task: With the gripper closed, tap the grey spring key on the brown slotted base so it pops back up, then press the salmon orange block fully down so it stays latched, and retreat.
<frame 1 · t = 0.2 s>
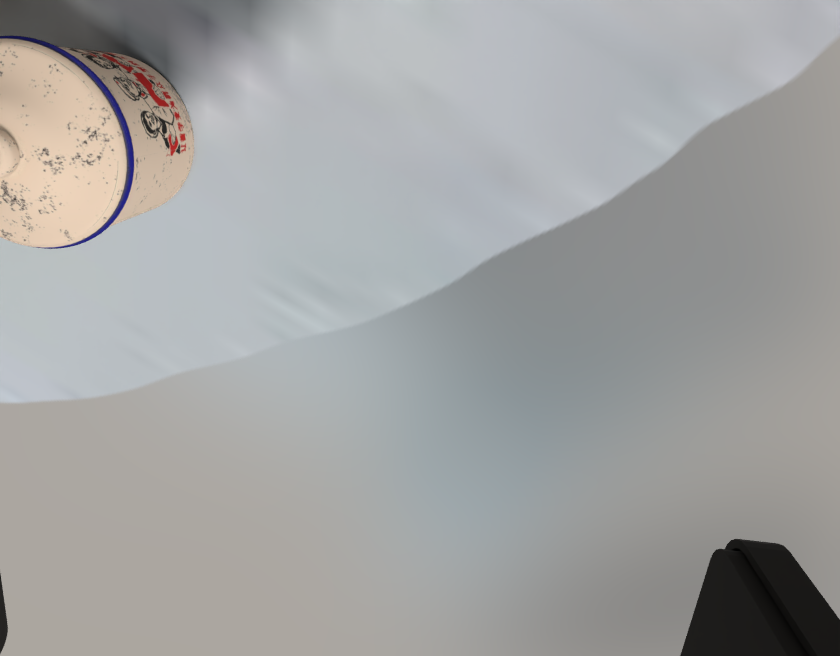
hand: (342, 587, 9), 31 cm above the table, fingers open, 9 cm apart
teacup with lid: (102, 115, 37), on the table
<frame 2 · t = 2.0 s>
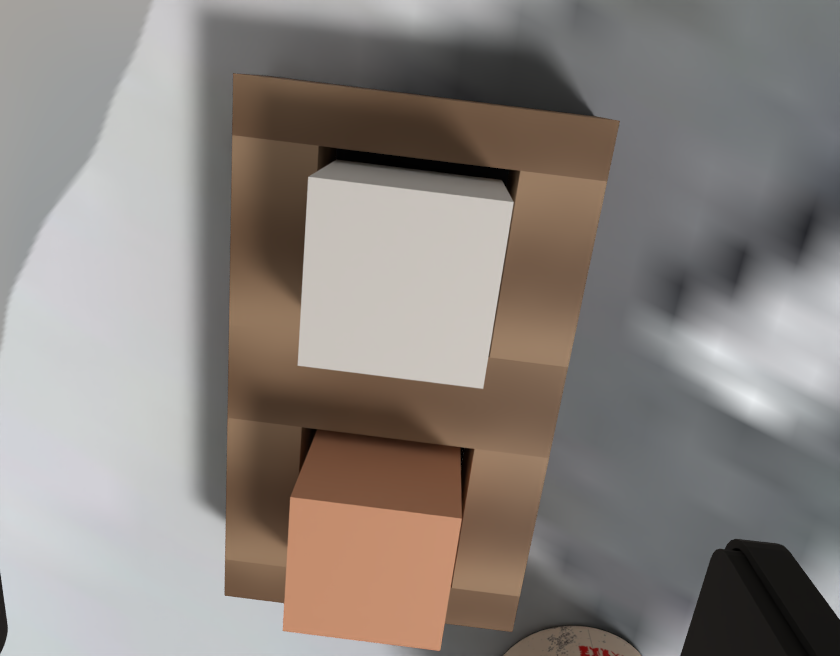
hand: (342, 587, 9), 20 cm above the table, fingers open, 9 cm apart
brown slotted base: (400, 354, 30), on the table
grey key: (405, 267, 22), point 6 cm above the table, slide at 0.0 cm
salmon orange block: (375, 533, 26), point 6 cm above the table, slide at 0.0 cm
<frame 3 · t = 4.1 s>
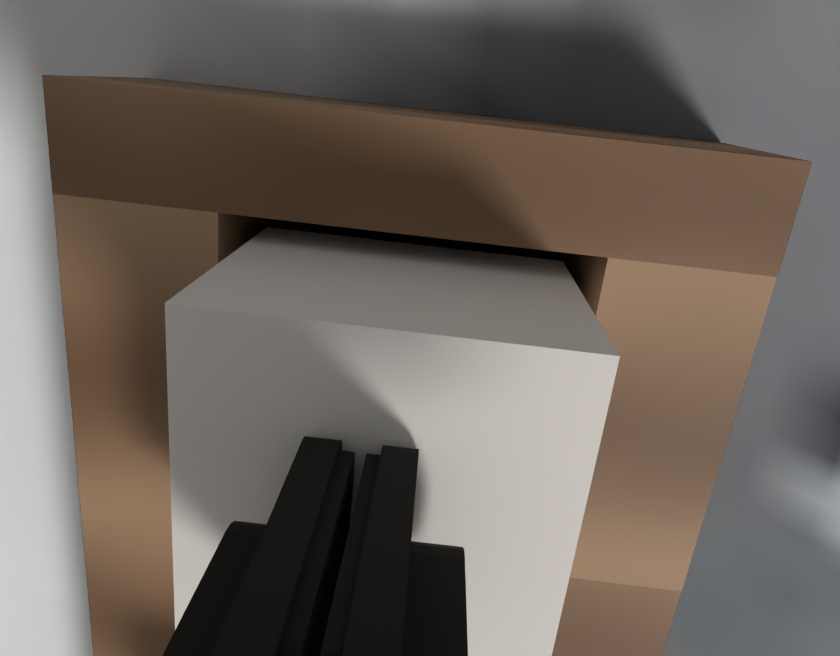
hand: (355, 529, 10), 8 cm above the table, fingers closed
brown slotted base: (389, 517, 19), on the table
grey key: (389, 435, 12), point 5 cm above the table, slide at 0.5 cm, touching gripper
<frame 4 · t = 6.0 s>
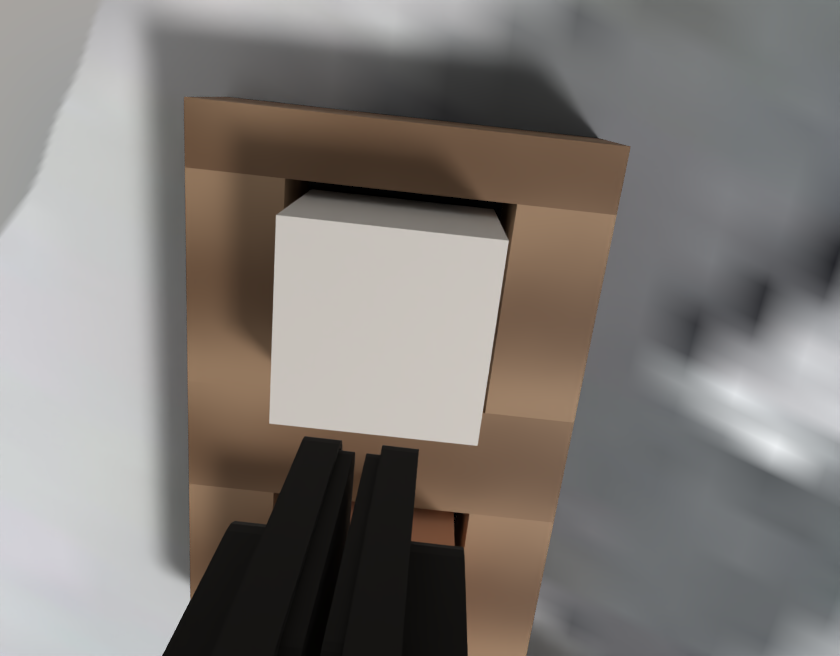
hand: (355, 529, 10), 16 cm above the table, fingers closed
brown slotted base: (385, 403, 27), on the table
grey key: (389, 309, 20), point 5 cm above the table, slide at 0.8 cm
salmon orange block: (359, 612, 23), point 5 cm above the table, slide at 0.0 cm
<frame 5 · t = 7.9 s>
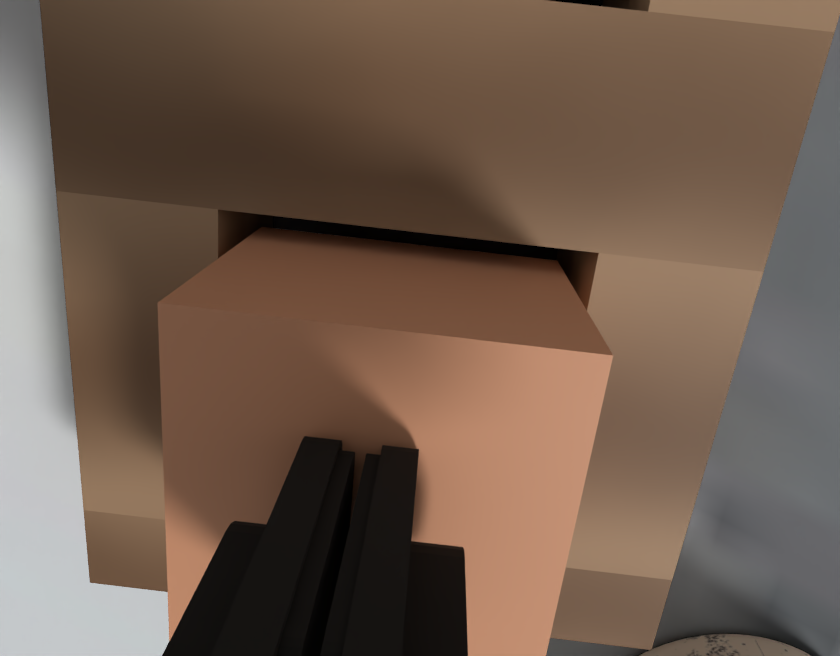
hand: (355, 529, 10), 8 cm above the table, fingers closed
brown slotted base: (428, 109, 15), on the table
salmon orange block: (384, 435, 12), point 5 cm above the table, slide at 0.2 cm, touching gripper
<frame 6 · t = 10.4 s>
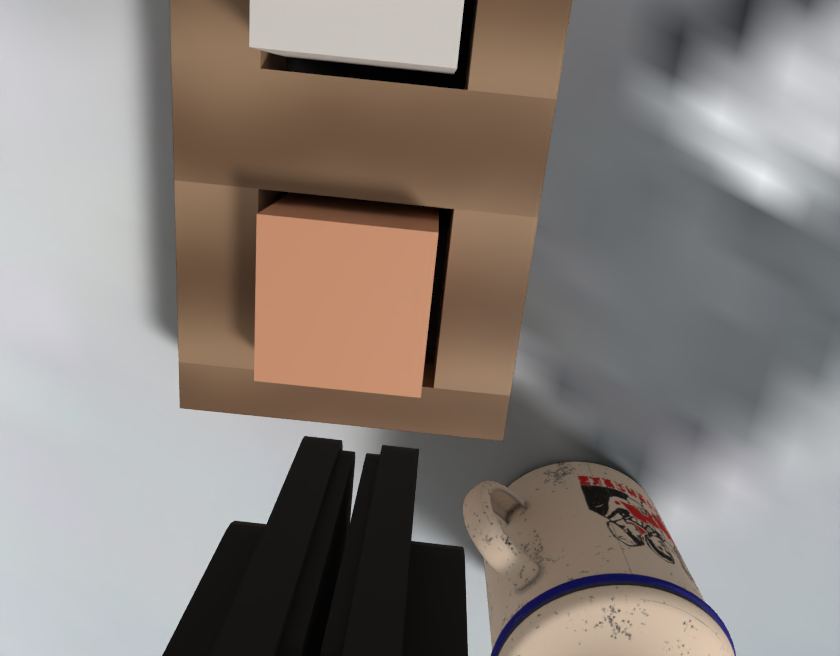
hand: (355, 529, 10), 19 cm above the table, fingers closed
brown slotted base: (371, 134, 27), on the table
salmon orange block: (351, 290, 25), point 4 cm above the table, slide at 1.9 cm
teacup with lid: (549, 513, 32), on the table
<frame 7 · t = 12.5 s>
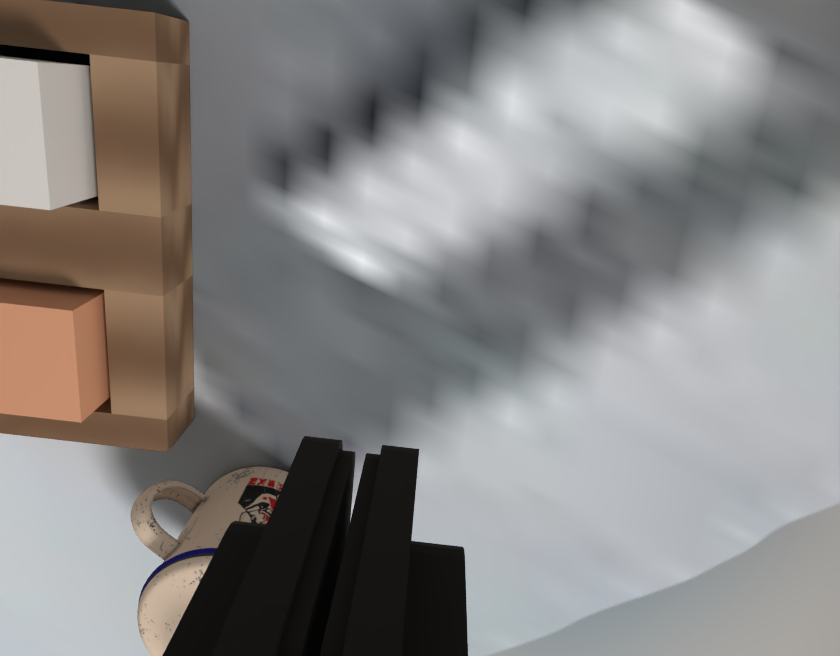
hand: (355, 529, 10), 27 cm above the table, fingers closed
brown slotted base: (74, 227, 36), on the table
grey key: (10, 127, 30), point 5 cm above the table, slide at 0.8 cm
salmon orange block: (45, 343, 35), point 4 cm above the table, slide at 1.9 cm
teacup with lid: (250, 505, 42), on the table
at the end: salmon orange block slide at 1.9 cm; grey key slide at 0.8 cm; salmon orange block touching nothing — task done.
